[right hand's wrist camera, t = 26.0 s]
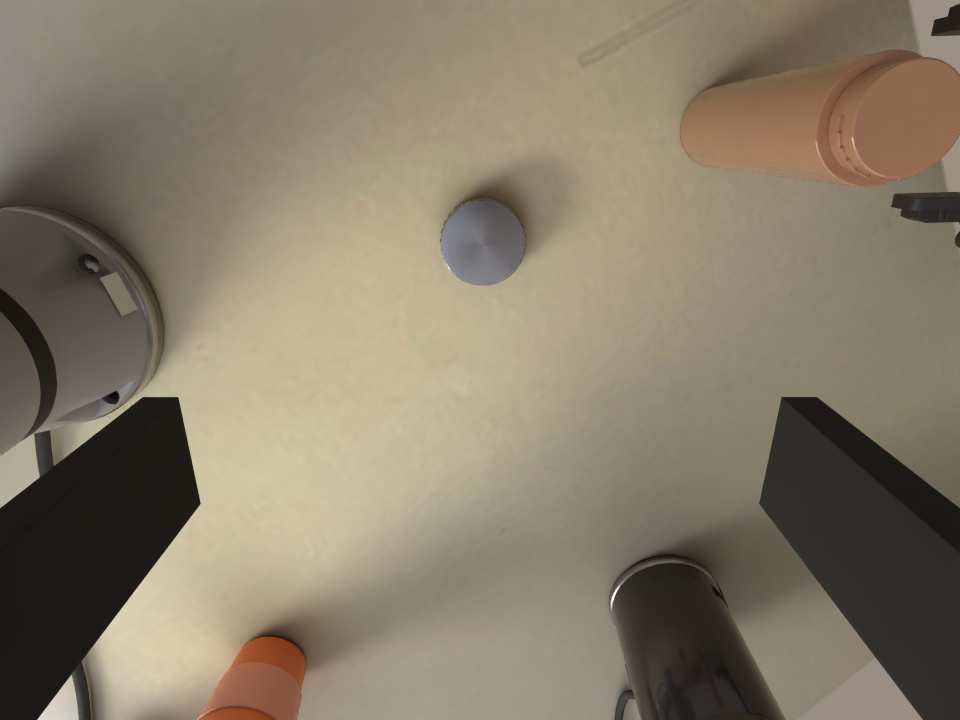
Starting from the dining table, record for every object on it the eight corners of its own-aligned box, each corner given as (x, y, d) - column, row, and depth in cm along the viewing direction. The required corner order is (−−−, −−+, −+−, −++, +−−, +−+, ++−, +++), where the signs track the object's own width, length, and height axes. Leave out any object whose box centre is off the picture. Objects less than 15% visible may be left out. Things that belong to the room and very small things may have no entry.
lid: (522, 194, 38) (524, 196, 36) (525, 278, 40) (527, 284, 38) (437, 199, 38) (435, 202, 37) (445, 283, 40) (443, 289, 39)
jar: (688, 177, 38) (847, 209, 21) (672, 101, 36) (832, 73, 20) (761, 151, 37) (983, 164, 21) (749, 73, 35) (980, 20, 19)
